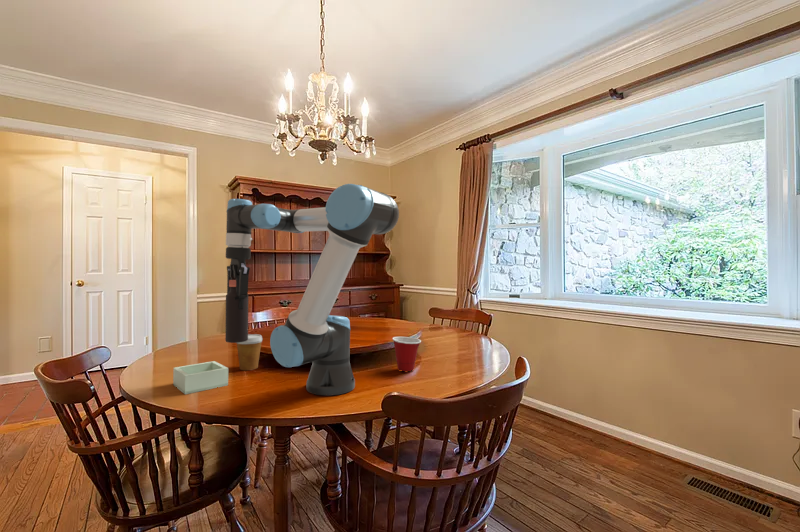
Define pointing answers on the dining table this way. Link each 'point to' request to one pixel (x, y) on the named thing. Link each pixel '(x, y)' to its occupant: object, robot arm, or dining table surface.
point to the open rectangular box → (200, 377)
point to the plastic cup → (406, 352)
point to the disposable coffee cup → (249, 352)
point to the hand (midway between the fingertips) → (236, 318)
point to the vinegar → (236, 317)
